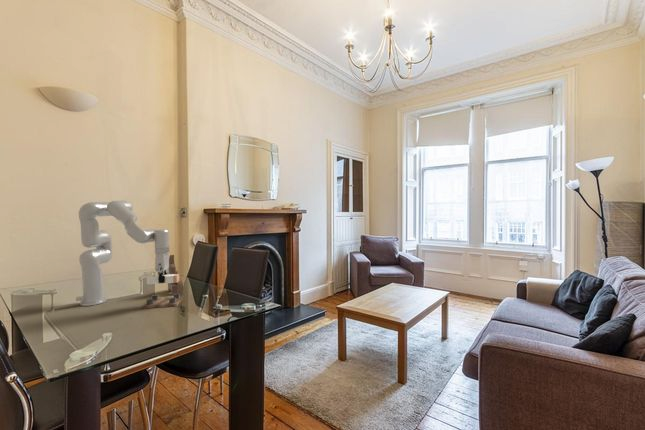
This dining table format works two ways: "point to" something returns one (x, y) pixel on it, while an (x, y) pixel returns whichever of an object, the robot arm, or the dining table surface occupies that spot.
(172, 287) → the wooden toy
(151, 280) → the block
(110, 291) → the dining table surface
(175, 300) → the brown fixture board
